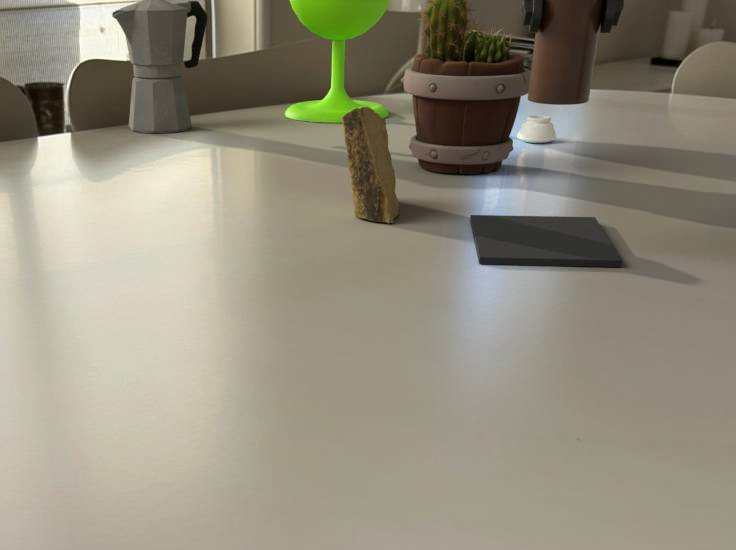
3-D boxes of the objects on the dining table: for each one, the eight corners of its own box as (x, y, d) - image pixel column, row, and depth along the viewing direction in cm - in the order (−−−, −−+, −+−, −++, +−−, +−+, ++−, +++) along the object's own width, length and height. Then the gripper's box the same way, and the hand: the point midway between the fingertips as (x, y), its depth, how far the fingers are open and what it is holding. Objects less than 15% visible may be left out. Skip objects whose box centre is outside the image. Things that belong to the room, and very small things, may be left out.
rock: (355, 170, 115) (301, 171, 107) (405, 104, 109) (351, 100, 102) (415, 246, 113) (363, 252, 106) (468, 183, 107) (417, 184, 100)
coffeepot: (139, 137, 147) (130, -15, 137) (104, 129, 153) (92, -17, 143) (228, 125, 155) (225, -19, 145) (191, 118, 161) (185, -21, 151)
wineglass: (358, 125, 154) (364, -20, 144) (265, 117, 161) (264, -22, 151) (406, 111, 165) (414, -25, 155) (316, 104, 172) (319, -26, 162)
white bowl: (538, 145, 139) (562, 141, 142) (541, 120, 138) (566, 117, 140) (509, 140, 143) (533, 136, 145) (512, 116, 141) (537, 112, 144)
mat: (594, 223, 104) (595, 217, 103) (621, 267, 90) (622, 260, 90) (469, 221, 105) (470, 214, 104) (478, 264, 92) (479, 257, 91)
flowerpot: (488, 152, 135) (507, -33, 124) (542, 175, 123) (570, -28, 112) (380, 158, 133) (390, -30, 121) (425, 182, 120) (441, -25, 109)
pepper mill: (584, 96, 91) (610, -79, 84) (592, 105, 87) (621, -78, 80) (524, 96, 91) (545, -78, 84) (530, 104, 87) (553, -78, 80)
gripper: (494, -197, 84) (486, -12, 81) (680, -201, 83) (679, -12, 80) (482, -114, 92) (475, 59, 89) (653, -116, 90) (651, 60, 87)
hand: (571, 24), depth 84 cm, fingers closed on pepper mill, 5 cm apart
